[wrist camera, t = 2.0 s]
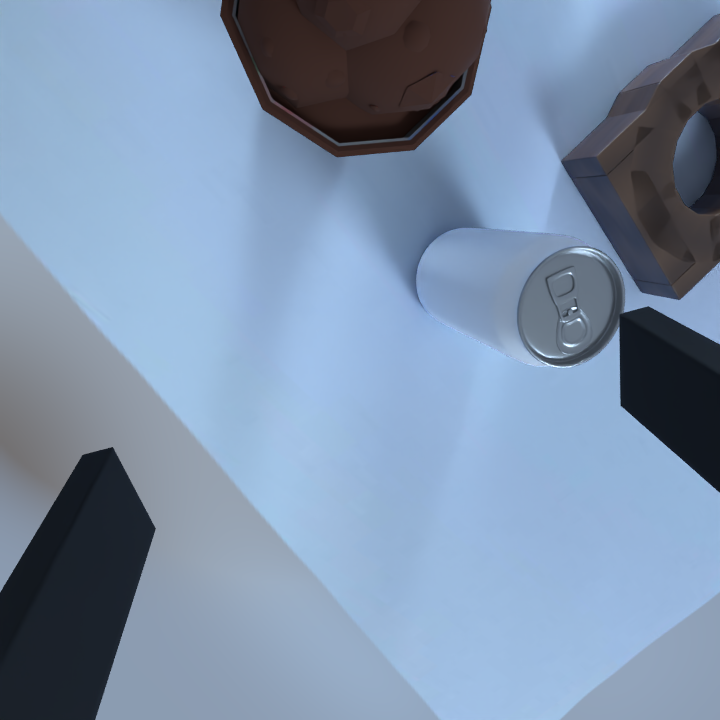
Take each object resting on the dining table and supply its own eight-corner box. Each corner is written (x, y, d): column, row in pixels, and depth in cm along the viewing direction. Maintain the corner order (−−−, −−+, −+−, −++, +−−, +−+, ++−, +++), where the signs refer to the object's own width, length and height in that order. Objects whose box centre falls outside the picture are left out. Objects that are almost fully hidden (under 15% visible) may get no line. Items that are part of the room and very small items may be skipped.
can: (431, 340, 36) (529, 399, 25) (399, 250, 34) (492, 271, 23) (513, 301, 37) (644, 342, 26) (488, 211, 35) (619, 213, 24)
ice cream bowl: (207, 149, 30) (204, 96, 16) (237, -80, 27) (265, -385, 13) (386, 191, 33) (516, 180, 19) (427, -10, 30) (612, -195, 16)
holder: (555, 153, 35) (590, 147, 32) (709, 6, 35) (760, -15, 32) (645, 299, 40) (683, 307, 37) (780, 170, 40) (830, 166, 37)
